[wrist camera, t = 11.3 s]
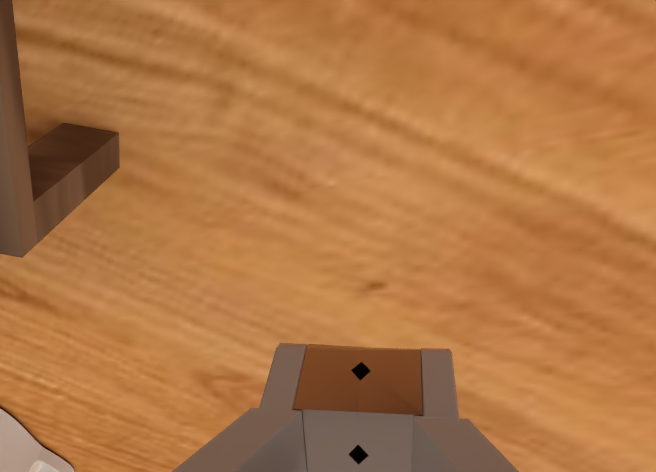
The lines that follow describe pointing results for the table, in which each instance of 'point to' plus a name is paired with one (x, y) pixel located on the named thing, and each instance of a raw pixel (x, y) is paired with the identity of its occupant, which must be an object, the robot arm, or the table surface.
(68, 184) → the bridge
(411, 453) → the robot arm
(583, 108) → the table surface
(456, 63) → the table surface
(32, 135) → the table surface
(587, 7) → the table surface
